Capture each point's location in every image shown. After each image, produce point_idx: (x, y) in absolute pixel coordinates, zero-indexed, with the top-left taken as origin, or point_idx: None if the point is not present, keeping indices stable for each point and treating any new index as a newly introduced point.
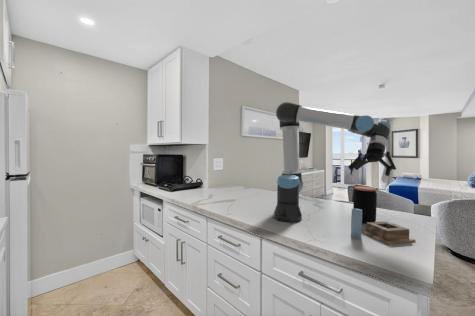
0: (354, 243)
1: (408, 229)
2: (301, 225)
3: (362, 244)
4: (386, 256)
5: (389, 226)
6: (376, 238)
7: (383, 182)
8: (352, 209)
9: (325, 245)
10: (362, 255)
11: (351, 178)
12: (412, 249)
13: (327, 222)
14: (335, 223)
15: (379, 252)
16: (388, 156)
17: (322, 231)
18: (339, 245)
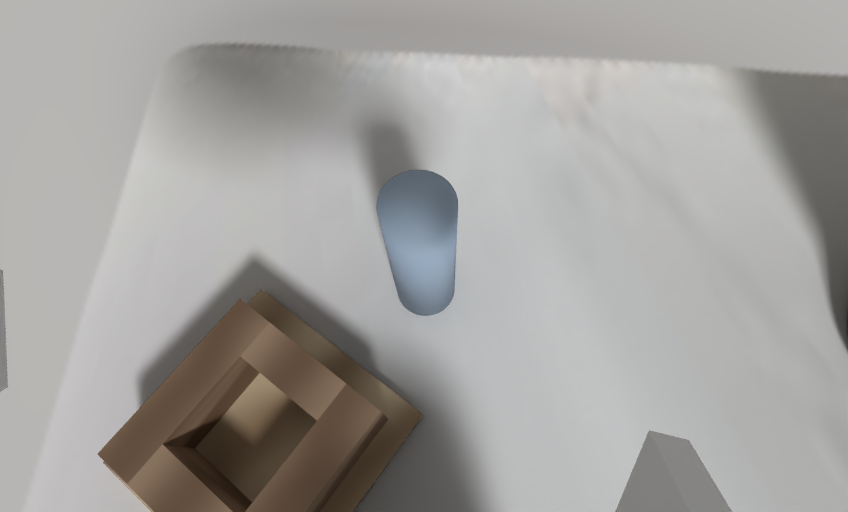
0: None
1: (105, 446)
2: (772, 265)
3: None
4: (274, 143)
5: (226, 497)
6: (321, 336)
7: (1, 373)
8: (447, 185)
9: (511, 87)
10: (359, 93)
11: (655, 435)
12: (156, 306)
13: None
14: None
15: (301, 164)
16: None
17: (613, 249)
18: (463, 124)
